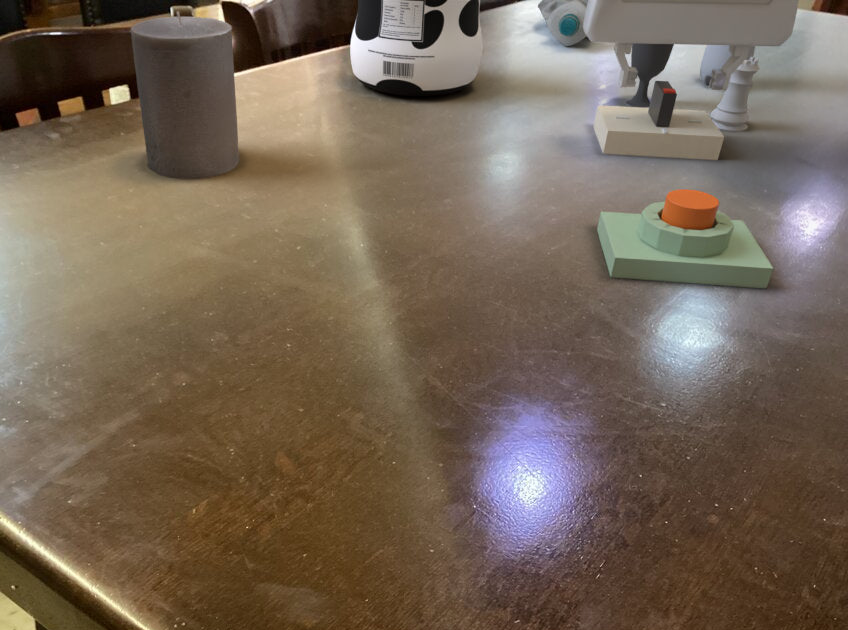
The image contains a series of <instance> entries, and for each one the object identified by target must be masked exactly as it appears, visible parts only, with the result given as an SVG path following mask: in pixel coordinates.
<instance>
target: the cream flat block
mask: <svg viewBox="0 0 848 630" xmlns="http://www.w3.org/2000/svg"><path fill="white" fill-rule="evenodd" d="M648 110H649V107H647V108H642V107H634V106H622V105H621V106H620V105H602V104H601V105H599V104H597V106H596V112H595V115H594V116H595V117H594V120H593V121H594V122H593V130H594V133H595V136H596V139H597V141H598V144H599V146H600V147H599V148H600V149H601V152H602V154H603V155H621V156H638V157H654V158H670V159H671V158H672V159H687V160H688V159H690V160H692V159H693V160H709V161H718V160H719V157H720V153H721V150H722V146H723V143H724V140H725V135H724V134H723V133H722V132H721V129H718V127H717V126H716V125H715V123H714V122H713V121H712V117H711V116H709V114H708V113H707V111H706V110H700V109H699V110H697V109H680V108H674V109H673V113H672V117H671V121H670V125H669V127H658V126H655V124H654V122H653V120H652V118H651V117H650V115H649V113H648Z"/></svg>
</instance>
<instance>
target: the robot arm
mask: <svg viewBox="0 0 848 630" xmlns="http://www.w3.org/2000/svg"><path fill="white" fill-rule="evenodd" d="M798 7H799V0H588V3H587V8H586V12H585V17H584V23H583V29H584V32H585V34H586V37H587V38H588V39H589V41H591V42H592V43H597V44H599V43H601V44H602V43H604V44H606V43H608V44H614V46H613V51H614V54H615V57H616V59H617V62H618V64H619V67H620V72H619V77H618V86H619V87H620V88H636V85H637V81H636V79H637V78H638V76H637V74H638V71H637V70H636V68H635V67H631V66H630V65H629V63H628V60H627V56H626V55H630V54H632V44H633V43H643V44H674V45H689V46H690V45H692V46H693V45H694V46H695V45H696V46H707V45H730V46H729V50H728V51H729V52H730V53H731V54H732V55H731V56H730V58H729V59H728V60H727V61H726V63H725V64H724V65H723V66H722V68H721V69H713V70H712V74H711V76H712V78H711V79H710V82H709V84H708V85H709V86H708V87H709V89H710V90H713V91H726V90H727V88H728V85H729V81H730V77H731V74H732V73H734V71H735V70H736V69H737V68H738V67H739V66H740V65H741V64H742V63H743V61H744V60H745V59H746V58H747V56H748V53H749V49H750V46H755V47H781V46H782V45H783V44H785V42H787V41H788V40H789V39H790V38H791V36H792V34H793V30H794V27H795V23H796V19H797V13H798Z"/></svg>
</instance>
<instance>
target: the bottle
mask: <svg viewBox="0 0 848 630" xmlns="http://www.w3.org/2000/svg"><path fill="white" fill-rule="evenodd" d="M729 46H730V45H705V48H704V51H703V55H702V58H701V62H700V67H699V76H700V79H701V81H702V82H703V84H705V85H709V82H710V79H711V78H712V76H711V74H712V70H713V69H721V68H722V66H723V65H724V64H725V63H726V61H727V60H728V59H729V58H730V56H731V55H732V54H731V53H730V52H729V51H728V50H729ZM755 51H756V46H750V49H749V53H748V56H747V58H746V60H749V59H750V57H754V54H755Z"/></svg>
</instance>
